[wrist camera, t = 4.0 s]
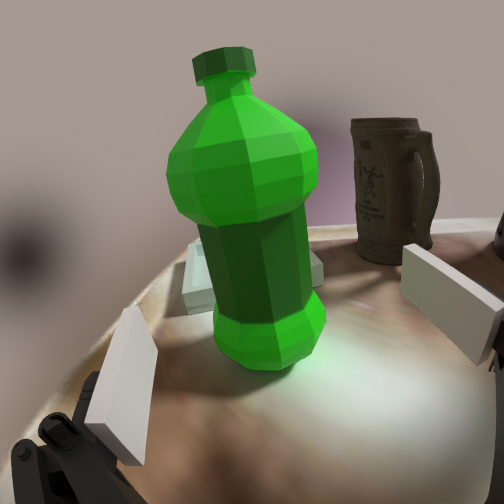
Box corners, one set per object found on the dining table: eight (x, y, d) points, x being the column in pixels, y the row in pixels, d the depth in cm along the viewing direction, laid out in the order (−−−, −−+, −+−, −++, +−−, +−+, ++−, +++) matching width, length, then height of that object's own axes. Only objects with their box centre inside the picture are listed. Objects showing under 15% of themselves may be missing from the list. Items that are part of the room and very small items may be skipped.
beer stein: (340, 246, 45) (332, 116, 36) (387, 230, 48) (385, 114, 39) (409, 292, 32) (419, 121, 23) (454, 265, 35) (466, 123, 26)
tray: (288, 239, 51) (286, 223, 50) (324, 284, 36) (322, 263, 35) (192, 260, 50) (188, 244, 49) (188, 314, 35) (181, 293, 33)
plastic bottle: (340, 325, 28) (313, 53, 19) (304, 406, 20) (248, 14, 10) (252, 312, 33) (208, 79, 23) (199, 375, 25) (116, 76, 15)
